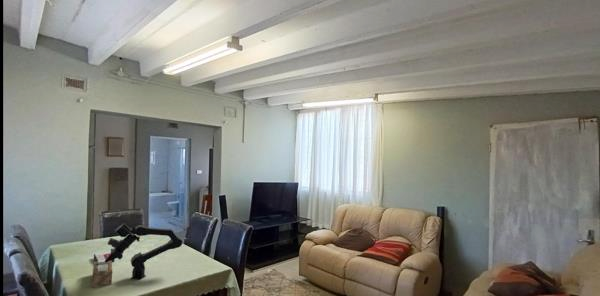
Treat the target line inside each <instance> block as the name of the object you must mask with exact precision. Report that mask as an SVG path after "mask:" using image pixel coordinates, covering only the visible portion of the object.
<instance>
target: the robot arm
mask: <svg viewBox="0 0 600 296" xmlns="http://www.w3.org/2000/svg"><path fill="white" fill-rule="evenodd" d="M114 232H115V233H116V234H117V235H118V236H119V237H121V238H123V239H120V240H119V239H114V237H113V238H112V237H110V238H109V240H108V242H107V245H109V246H111V247H112V248H110V252H111V253H110V254H109V256H108V257H107V258H106V260H105V262H108V261H111V260H113V259H118V260H121V259H123V254H124V252H125V251H126V250H127V249H129V248H130V246H131V245H132V244H133V243H134V242H136V241H137V242H138V243H139V242H140V238H141V237H143V236H148V235H150V236H151V235H153V236H166V237H167V236H168V237H169V238H170V240H168V242H167V243H164V244H162V245H160V246H158V247H156V248H153V249H152V250H149V251H147V252H145V253H142V252H141V251H140V252H137V253H136V254H133V256H132V257H131V258H130V265H131V267H132V273H131V277H130V279H133V280H142V279H144V278H145V277H147V274H146V275H145V273H146V272H145V270H146V266H145V263H146V262H147V261H148V260H150V259H152V258H153V257H156V256H158V255H161V254H163V253H165V252H167V251H168V250H169V251H170V250H174V249H178V248H180V247H182V245H183V240H182V239H181V238H180V237H179V236H177V235H176V233H174V231H173V229H171V228H157V227H149V226H146V225H140V224H138V225H136V226H134V227H128V225H127V224H126V223H125V222H124V223H122V224H121V225H119V226H118V227H116V229H115V230H114Z"/></svg>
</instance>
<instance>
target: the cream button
mask: <svg viewBox="0 0 600 296" xmlns="http://www.w3.org/2000/svg"><path fill="white" fill-rule="evenodd" d="M107 270H108V264H105V265H98V272H99V271H107Z"/></svg>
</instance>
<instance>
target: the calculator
mask: <svg viewBox="0 0 600 296" xmlns="http://www.w3.org/2000/svg"><path fill="white" fill-rule="evenodd" d="M110 253H111V251H107V252H99V253H94V254H93V260H94V262H98V260H102V259H106V258H107V257H108V256H109V254H110ZM112 263H115V259H113V260H112Z"/></svg>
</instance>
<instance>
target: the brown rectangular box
mask: <svg viewBox="0 0 600 296" xmlns="http://www.w3.org/2000/svg"><path fill="white" fill-rule="evenodd" d="M112 282H113V262H112V260H111V261H108V270H107V271H99V272H98V262H95V261H94V262H93V266H92V280H91V288H97V287H104V286H110V285H113V284H112Z"/></svg>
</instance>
